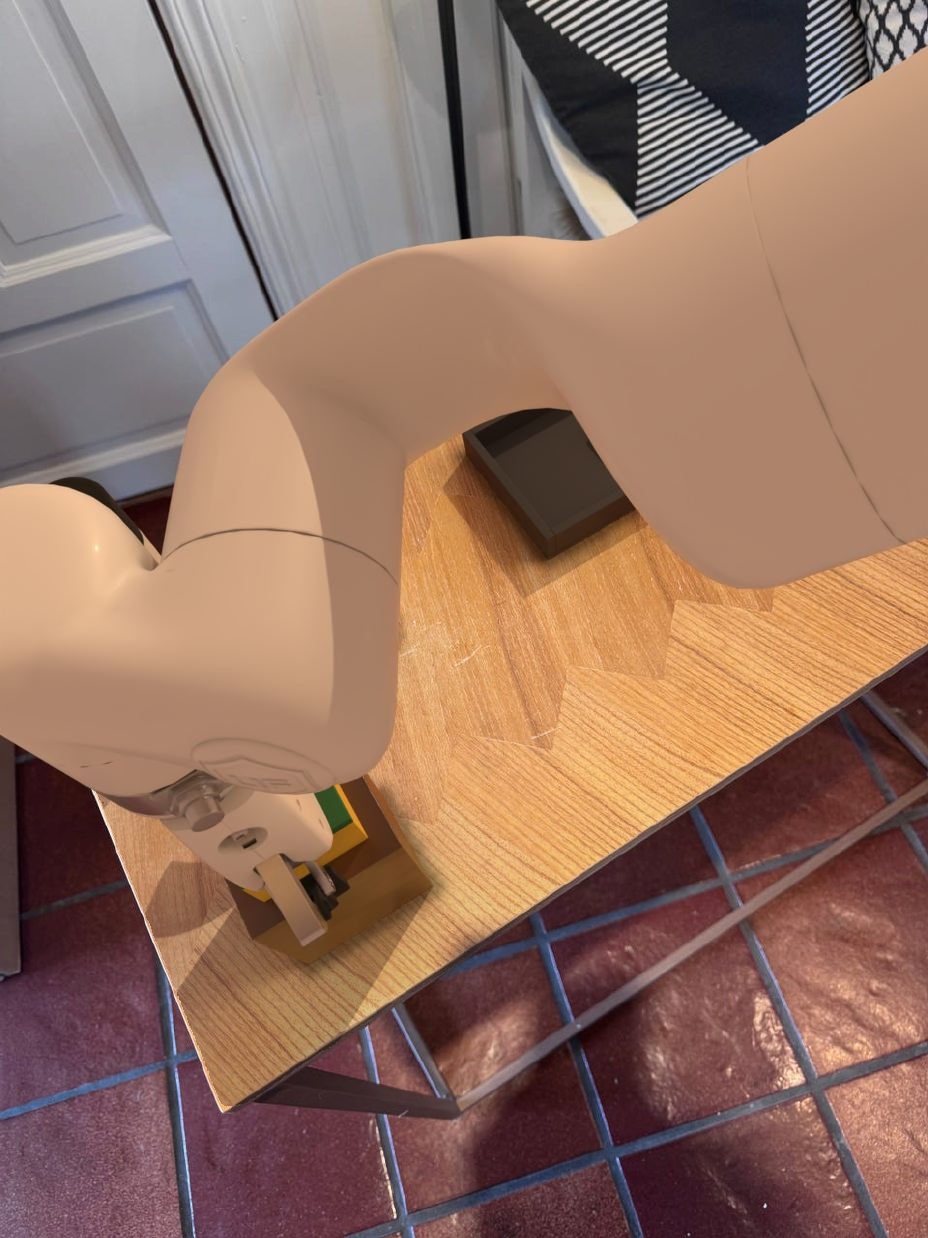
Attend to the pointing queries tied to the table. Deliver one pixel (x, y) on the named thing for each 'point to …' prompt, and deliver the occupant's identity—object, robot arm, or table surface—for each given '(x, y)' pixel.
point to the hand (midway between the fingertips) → (287, 826)
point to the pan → (547, 476)
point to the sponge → (342, 827)
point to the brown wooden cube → (372, 870)
